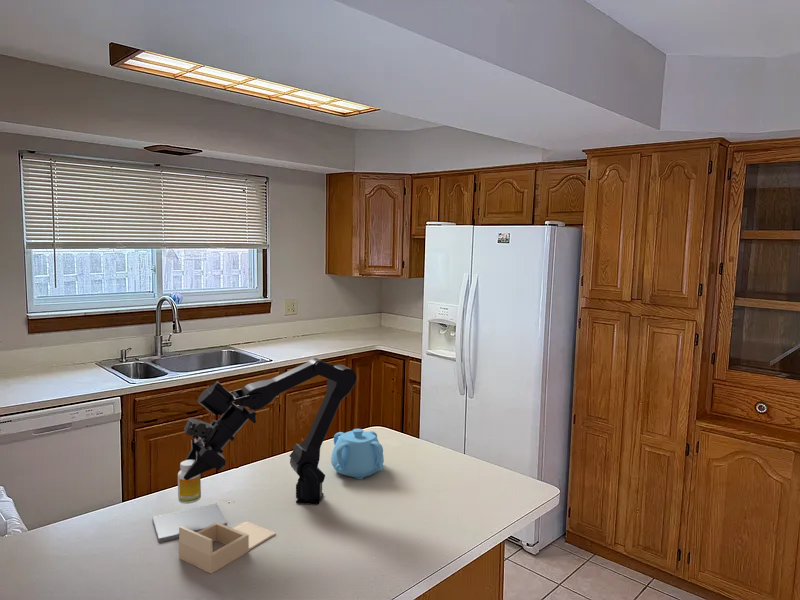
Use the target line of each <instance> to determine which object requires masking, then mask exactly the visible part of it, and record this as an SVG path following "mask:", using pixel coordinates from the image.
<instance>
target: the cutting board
mask: <svg viewBox="0 0 800 600" xmlns="http://www.w3.org/2000/svg"><path fill="white" fill-rule="evenodd" d="M152 522H153V523H154V524H153V523H152V524H153V526H154V531H155V534H156V537H157V539H158V543H162V541H163V542H166V540H167V541H171V540H174V539H175V538H176V539H179V527H180V526H183V527H185V528H187V529H190V530H192V531H194V532H198V531H200V530H202V529H204V528H206V527H208V526H210V525H212V524H214V523H216V522H218V523H221V524H223V525H226V526H228V522H227V520H226V518H225V516H224V514H223V512H222V510H221V508H220V507H219V505H218V504H217V503H212V504H207V505H202V506H198V507H197V506H196V507H191V508H187V509H183V510H177V511H173V512H169V513H164V514H159V515H154V516H152Z"/></svg>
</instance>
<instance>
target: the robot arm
mask: <svg viewBox="0 0 800 600" xmlns="http://www.w3.org/2000/svg"><path fill="white" fill-rule="evenodd" d="M317 376H320V377H324V378H326V379H327V380H326V392H325V396H324V398H323V400H322V402H321V403H320V404H321V405H320V406H319V408H318V411H317V414H316V415H315V417H314V420H313V422H312V424H311V426H310V429H309V431H308V433H307V435H306V437H305V439H304V441H303V442H301V443H300V444H299V443H295V444H294V446H293V449H292V451H291V453H290V454H289V455H288V456H289V457H290V459H289V464H290V467H291V468H292V470H293V471H294V472H295V473H296V474H297V476H298V479H297V482H296V484H295V498H296V501H295V503H296V504H299V505H313V506H316V505H317V506H319V505H320V504H321V502H322V499H323V498H324V495H325V494H324V492H323V483H324V481H325V478H326V473H324V472H323V471H322V470H321V469H320V468H319V462H320V458H321V457H320V455H321V447H322V445H323V442H324V441H325V437H326V435H327V434H328V431H329V430H330V427H331V425H332V422H333V419H334V418H335V416H336V413H337V411H338V409H339V406H340V404H341V402H342V400H343V399H344V398H346V397H347V396H348V395H349V394H350V392H351V391H352V389H353V388H354V387H355V385H356V383H357V381H358V377H357V374H356V372H355V370H353V369H352V368H350V367H347V366H346V365H343V364H340V363H339V364H331V363H329V362H326V361H323V360H321V359H320V358H317V357H314V358H311V359H310V360H308V361H307V362H304V363H302V364H300V365H298V366H296V367H294V368H291V369H290V370H287V371H285V372H283V373H281V374H279V375H277V376H275V377H272V378H269V379H263V380H262V379H261V380H258V381H254V382H250V383H248V384H246V385H244V386H243V387H242V388H239V389H235V390H232V391H228V390H227V388H226V387H224V386H223V385H222V384H221V383H220V382H219V381H215V382H214V383H213V384H211V385H209V386H208V387H207V388H205V389H204V390H203V391H202V392H201V394H200V395H199V397H198V398H197V403H199V405H201V406H203V408H205V409H206V410H207V411H208V412H210V413H211V414H212V415H213V416H217V415H219V416H220V417H219V418H218V420H216V419H212V420H211V422H209V423H208V422H206V421H203V420H201V419H198V418H197V419H196V418H193V417H188V419H187V421H186V424H185V426H184V428H183V430H184V432H185V433H184V434H186V435H188V436H190V437H191V439H190V444H191V445H190V446H191V448H190V450H189V453H188V454H187V456H186V458H185V460H195V461H194V463H193V464H192V465H191V467H190V468H189V470H188V471H187V473H186V474H185V476H184V479H185V480H188V479H191V478H193V477H195V476H197V475H199V474H200V475H202V474H203V473H205V472H208V471H210V470H213V469H214V470H215V469H217V470H218V471H222V469H223V468H224V467H225V466H226V458H225V457H224V455H223V454H222V453H224V449H223V448H224V447H225V446H226V445H227V444H228V443H229V441H234V440H235V438H236V437H235V435H236V434H237V432H238V431H239V430H241V428H242V427H243V426H244V425H245V423H247V422H248V421H250V422H251V423H253V424H256V423H257V417H256V416H257V412H256V411H258V410H261V409H263V408H264V407H266V406H267V405H269V404H270V403H271V402H273V400H275V398H276V397H277V396H279V395H280V394H282V393H284V392H286V391H288V390H290V389H293V388H294V387H297V386H299V385H301V384H303V383H305V382H306V381H307V382H308V381H309V380H312V378H315V377H317ZM235 403H236V404H235ZM247 407H248V408H247ZM249 409H250V410H249Z"/></svg>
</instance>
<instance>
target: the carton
mask: <svg viewBox="0 0 800 600" xmlns="http://www.w3.org/2000/svg"><path fill="white" fill-rule="evenodd" d="M275 535H276V532H274V531H272V530H270V529H267V528H264V527H262V526H259V525H257V524H254V523H252V522H250V521H244V522H242V523H240V524H238V525H236V526H234V527H230V526H228V525H227V526H226V525H223V524H221V523H218V522H216V523H214V524H212V525H210V526H208V527H206V528H204V529H202V530H200V531H198V532H194V531H192V530H190V529H187V528H185V527H183V526H180V527H179V538H178V539H179V540H178V558H179V559H180V560H182V561H183V562H186V563H187V564H190V565H192V566H194V567H197V568H199V569H201V570H202V571H205V572H207V573H209V574H213V573H215V572H216V571H218V570H220V569H222V568H223V567H225V566H227V565H228V564H230V563H231V562H234V561H235V560H236V559H238V558H240V557H241V556H243V555H244V554H246V553H249V551H250V550H252V549H254V548H255V547H257V546H259V545H260V544H262V543H263V542H265V541H267V540H269V539H271V538H272V537H274V536H275ZM215 542H220V543H222V544H224V546H221V547H220V548H218V549H216V550H214V549H213V543H215ZM213 550H214V551H213Z"/></svg>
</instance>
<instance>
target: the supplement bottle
mask: <svg viewBox="0 0 800 600" xmlns="http://www.w3.org/2000/svg"><path fill="white" fill-rule="evenodd" d="M194 461H195V460H186V459H185V460H183V461H181V462H180V464H179V468H180V470H179V471H178V473H177V500H178V502H179V503H181V504H184V505H185V504H186V505H187V504H188V505H189V504H194V503H196V502H198V501H200V500H201V498H202V487H201V486H202V483H201V480H202V479H201V474H199V475H197V476H195V477H193V478H191V479H188V480H185V479H184V476H185V474H186V473H187V471H188V470H189V468H190V467H191V465H192V464H193V463H194Z"/></svg>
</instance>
